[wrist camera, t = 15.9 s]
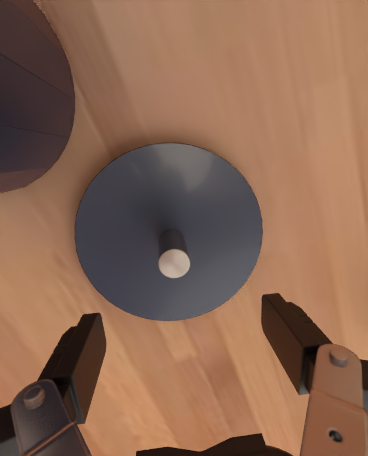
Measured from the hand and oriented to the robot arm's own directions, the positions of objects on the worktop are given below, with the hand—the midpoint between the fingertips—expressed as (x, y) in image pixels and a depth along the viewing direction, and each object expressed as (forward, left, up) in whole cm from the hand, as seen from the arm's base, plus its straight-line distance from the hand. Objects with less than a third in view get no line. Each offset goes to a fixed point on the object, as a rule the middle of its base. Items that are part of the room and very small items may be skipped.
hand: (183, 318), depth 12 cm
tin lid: (0, 0, -12) cm, 12 cm away
